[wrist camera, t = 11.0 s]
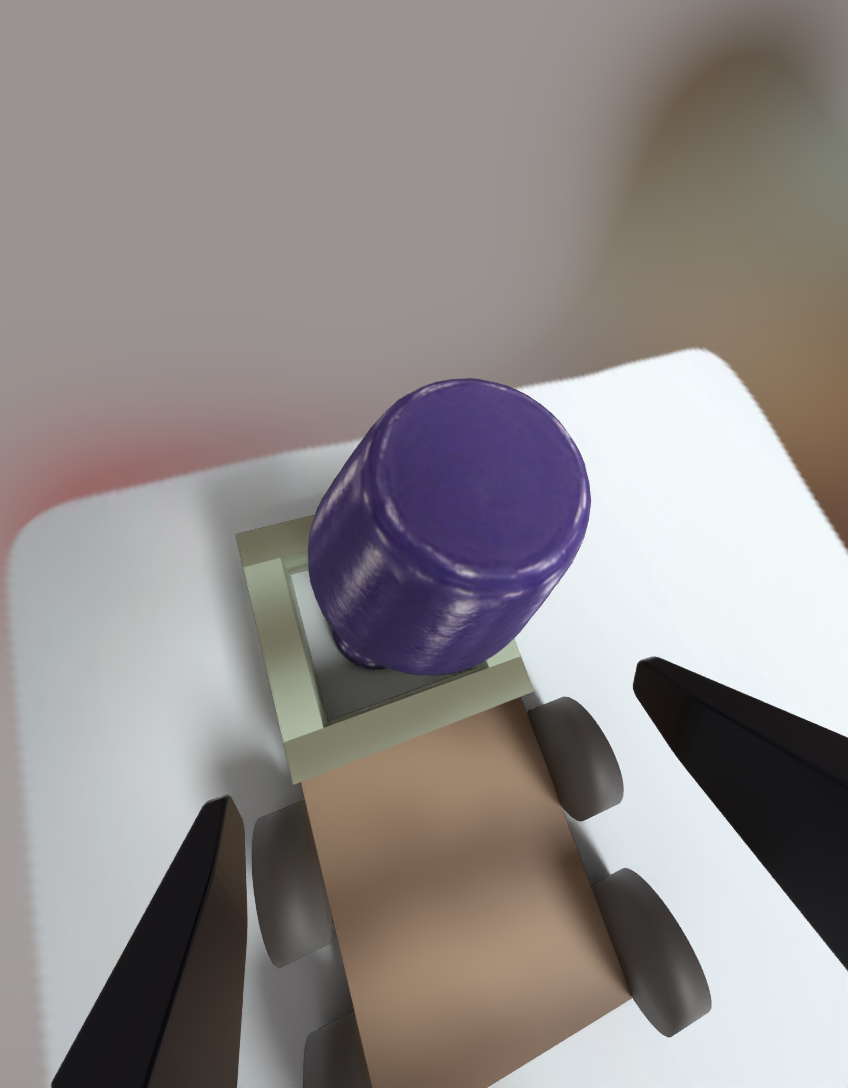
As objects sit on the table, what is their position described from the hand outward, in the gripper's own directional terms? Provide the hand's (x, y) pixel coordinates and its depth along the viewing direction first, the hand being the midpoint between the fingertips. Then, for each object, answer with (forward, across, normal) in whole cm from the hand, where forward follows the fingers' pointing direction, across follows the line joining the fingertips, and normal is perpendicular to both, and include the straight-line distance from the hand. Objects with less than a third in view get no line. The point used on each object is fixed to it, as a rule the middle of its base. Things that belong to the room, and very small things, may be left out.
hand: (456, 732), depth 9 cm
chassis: (+7, 0, +10) cm, 12 cm away
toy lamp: (+11, 0, +6) cm, 12 cm away
